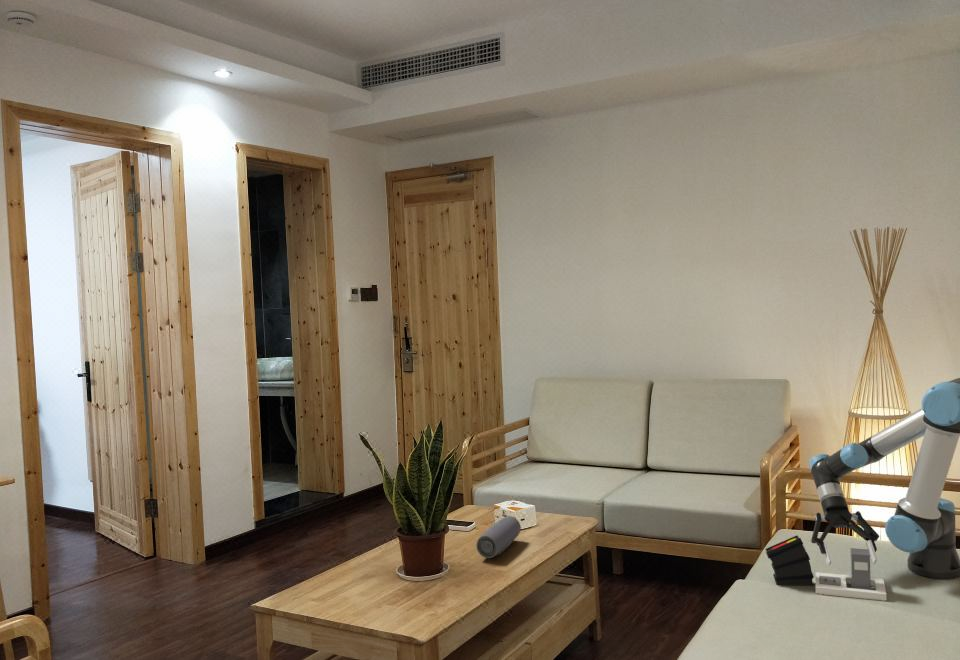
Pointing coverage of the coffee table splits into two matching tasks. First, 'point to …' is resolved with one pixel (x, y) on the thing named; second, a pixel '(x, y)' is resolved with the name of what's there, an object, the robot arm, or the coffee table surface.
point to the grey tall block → (860, 569)
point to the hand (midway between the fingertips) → (852, 562)
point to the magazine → (790, 562)
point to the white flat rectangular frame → (837, 587)
